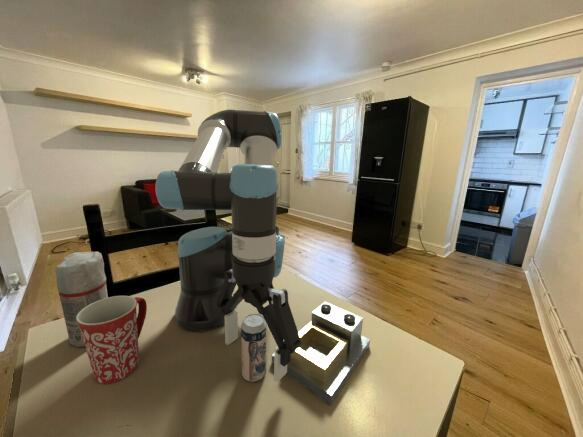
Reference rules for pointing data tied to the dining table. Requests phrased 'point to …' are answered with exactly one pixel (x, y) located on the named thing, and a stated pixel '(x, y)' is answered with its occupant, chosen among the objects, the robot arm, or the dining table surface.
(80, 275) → the spray can
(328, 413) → the dining table surface
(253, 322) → the beer can
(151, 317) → the dining table surface
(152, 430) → the dining table surface
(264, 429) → the dining table surface
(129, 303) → the mug
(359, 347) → the grey socket fixture
